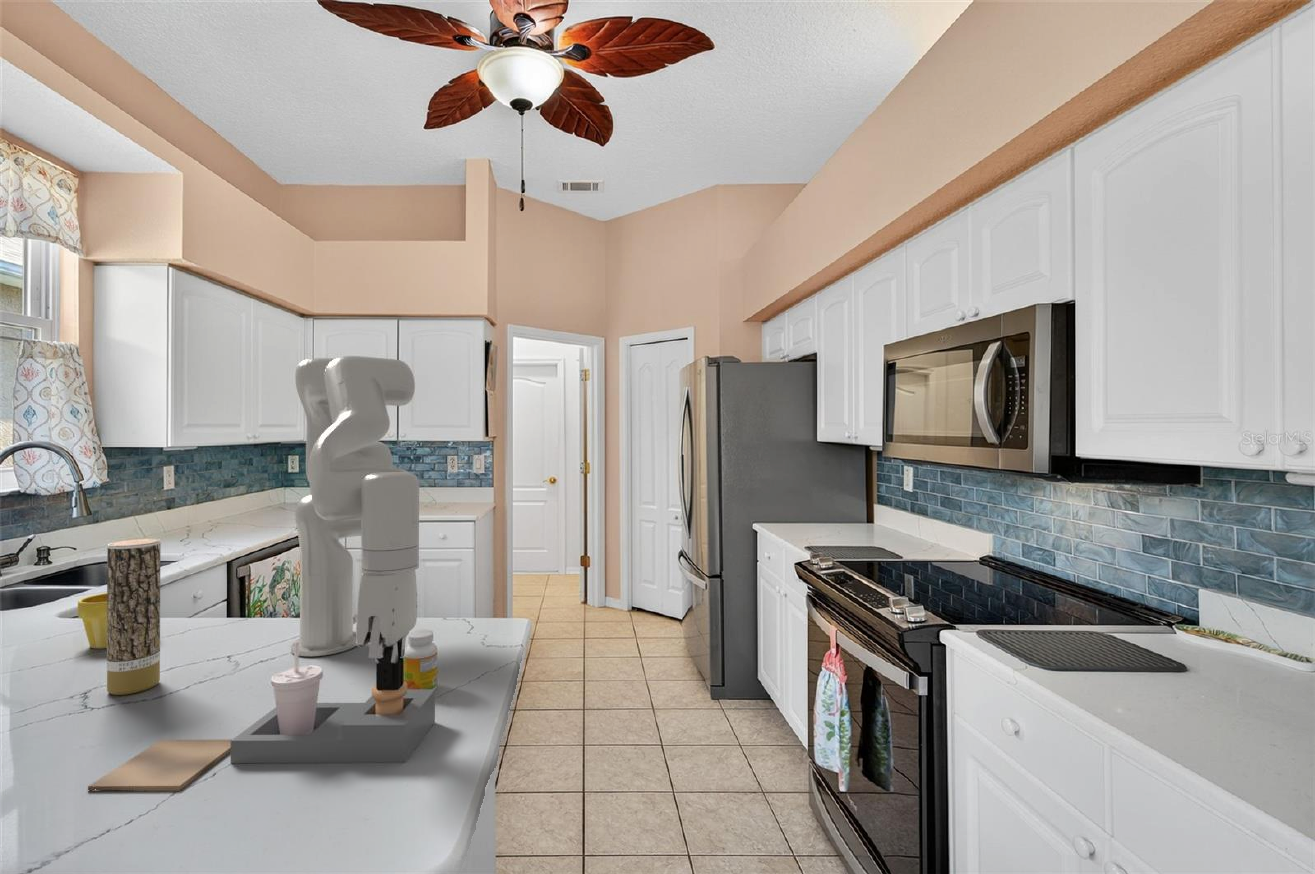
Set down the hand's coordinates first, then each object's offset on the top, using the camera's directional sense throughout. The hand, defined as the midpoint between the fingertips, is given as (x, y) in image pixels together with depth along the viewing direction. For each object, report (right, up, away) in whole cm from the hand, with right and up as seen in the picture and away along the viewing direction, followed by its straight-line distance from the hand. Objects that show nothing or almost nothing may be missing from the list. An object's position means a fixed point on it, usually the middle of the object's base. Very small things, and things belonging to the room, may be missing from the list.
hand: (390, 687), depth 84 cm
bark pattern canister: (-52, -8, +17) cm, 55 cm away
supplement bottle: (-3, -8, +17) cm, 19 cm away
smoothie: (-13, -8, 0) cm, 15 cm away
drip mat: (-26, -8, -6) cm, 28 cm away
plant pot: (-75, -7, +39) cm, 85 cm away
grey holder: (-7, -8, 0) cm, 10 cm away
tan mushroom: (0, -7, 0) cm, 7 cm away
